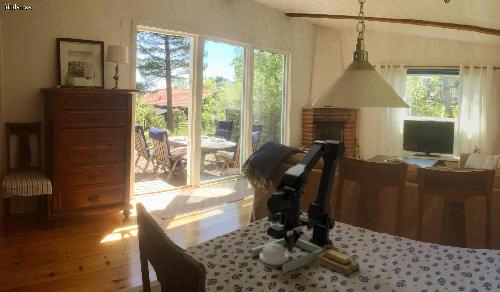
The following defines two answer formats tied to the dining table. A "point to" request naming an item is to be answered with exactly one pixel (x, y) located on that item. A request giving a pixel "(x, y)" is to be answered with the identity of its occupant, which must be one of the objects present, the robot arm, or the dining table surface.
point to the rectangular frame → (337, 264)
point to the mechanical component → (273, 254)
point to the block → (337, 257)
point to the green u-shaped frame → (298, 261)
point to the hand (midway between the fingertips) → (289, 250)
